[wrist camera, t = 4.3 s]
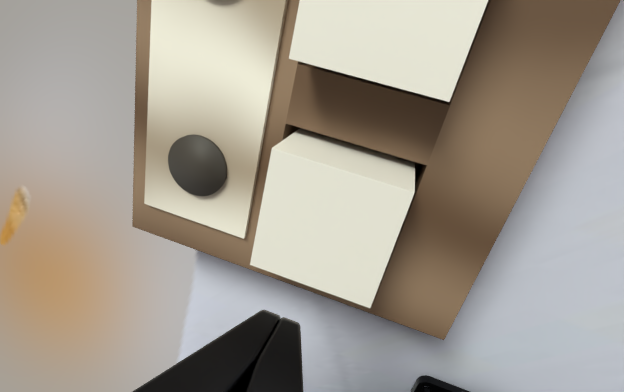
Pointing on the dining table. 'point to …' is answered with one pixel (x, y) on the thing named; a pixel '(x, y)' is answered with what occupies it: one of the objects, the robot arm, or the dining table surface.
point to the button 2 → (331, 214)
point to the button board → (349, 133)
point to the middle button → (389, 40)
